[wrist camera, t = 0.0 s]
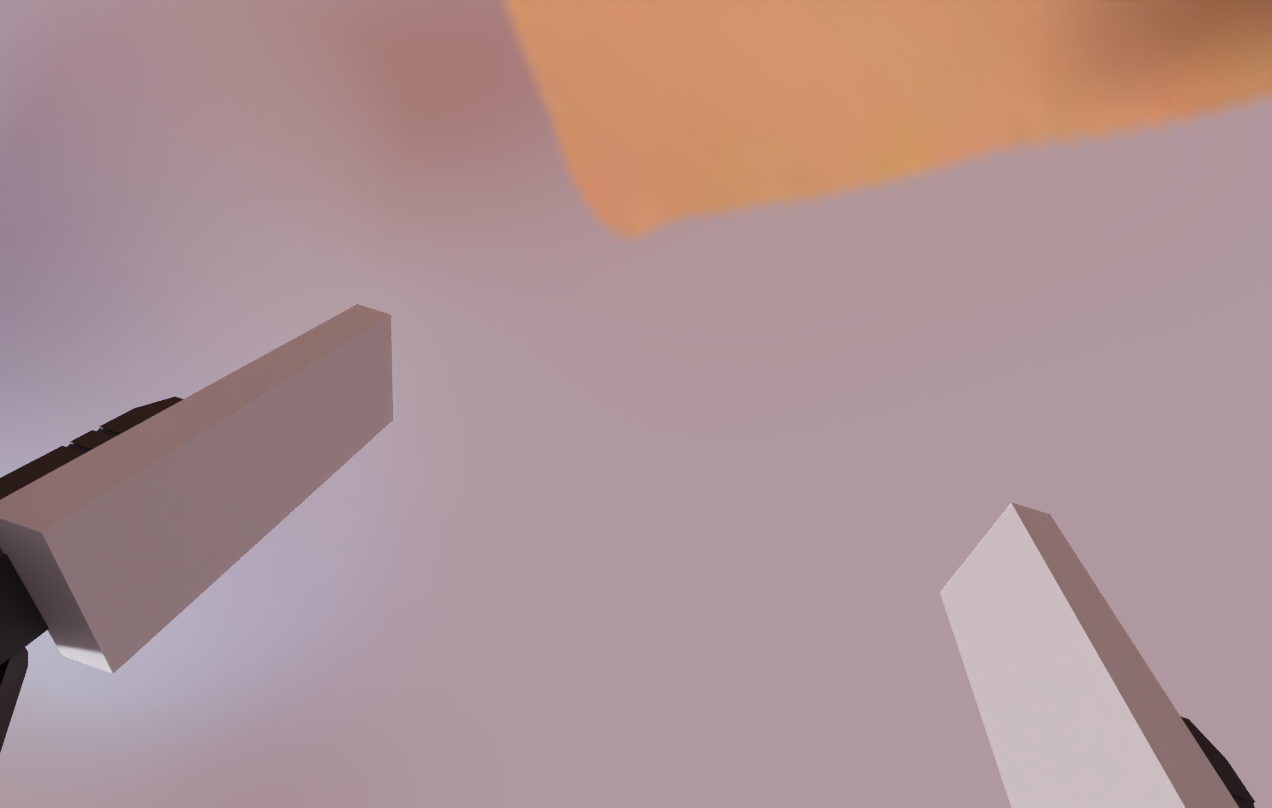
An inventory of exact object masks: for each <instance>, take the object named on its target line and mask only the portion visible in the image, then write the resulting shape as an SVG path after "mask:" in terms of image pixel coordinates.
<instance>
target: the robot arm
mask: <svg viewBox="0 0 1272 808" xmlns="http://www.w3.org/2000/svg"><path fill="white" fill-rule="evenodd" d="M391 352H392V351H391V315H390V314H387V313H384V312H381V311H377V310H374V309H371V308H367V307H364V306H361V305H355V306H353V307H351V308H350V309H348V310H346V311H344V312H343V313H341V314H339V315H337V316H335V317H333V318H331V319H330V320H328V321H326V322H324V323H322V324H320V325H319V326H317V327H315V328H313V329H311V330H309V331H308V332H306V333H304V334H302V335H300V336H299V337H297V338H295V339H293V340H291V341H289V342H288V343H286V344H284V345H282V346H280V347H278V348H277V349H275V350H273V351H271V352H270V353H267V354H266V355H264V356H262V357H260V358H258V359H257V360H255V361H253V362H251V363H249V364H247V365H246V366H244V367H242V368H240V369H238V370H237V371H235V372H233V373H231V374H229V375H227V376H225V377H224V378H222V379H220V380H218V381H216V382H215V383H213V384H211V385H209V386H207V387H205V388H204V389H202V390H200V391H198V392H196V393H194V394H193V395H191V396H189V397H187V398H185V399H181V398H177V397H172V398H169V399H165V400H162V401H158V402H155V403H152V404H148V405H145V406H141V407H138V408H134V409H132V410H130V411H128V412H127V413H125V414H123V415H121V416H119V417H117V418H115V419H113V420H111V421H109V422H107V423H105V424H103V425H102V426H100V427H99V430H98V431H93V430H92V431H90V432H88V433H86V434H84V435H82V436H80V437H78V438H76V439H75V440H73V441H71V442H70V444H69V446H67V447H64V446H61V447H59V448H57V449H55V450H53V451H51V452H49V453H48V454H46V455H44V456H42V457H40V458H38V459H36V460H34V461H32V462H30V463H28V464H26V465H24V466H23V467H21V468H19V469H17V470H15V471H13V472H11V473H9V474H7V475H5V476H3V477H1V478H0V752H1V749H2V745H3V742H4V739H5V736H6V733H7V729H8V726H9V724H10V720H11V717H12V714H13V711H14V708H15V705H16V702H17V698H18V696H19V692H20V689H21V686H22V683H23V680H24V677H25V674H26V670H27V667H28V651H27V650H26V648H25V646H27V645H28V644H29V643H31V642H32V641H33V640H34V639H36V638H37V637H39V636H40V635H41V634H42V633H44V632H45V631H46V630H48V631H49V633H50V635H51V636H52V638H53V640H54V642H55V643H56V645H57V647H58V649H59V650H60V652H61V654H62V656H64V657H67V658H70V659H73V660H76V661H79V662H81V663H84V664H87V665H90V666H93V667H95V668H98V669H101V670H104V671H107V672H110V673H112V674H113V673H114V672H115V671H117V670H118V669H119V668H120V667H121V666H122V665H123V664H124V663H125V662H126V661H128V660H129V659H130V658H131V657H132V656H133V655H134V654H135V653H136V652H138V650H140V649H141V648H142V647H143V646H144V645H145V644H146V643H147V642H149V641H150V640H151V639H152V638H153V637H154V636H155V635H156V634H157V633H158V632H160V631H161V630H162V629H163V628H164V627H165V626H166V625H167V624H168V623H169V622H171V621H172V620H173V619H174V618H175V617H176V616H177V615H178V614H179V613H180V612H182V611H183V610H184V609H185V608H186V607H187V606H188V605H189V604H190V603H192V602H193V601H194V600H195V599H196V598H197V597H198V596H199V595H200V594H201V593H203V592H204V591H205V590H206V589H207V588H208V587H209V586H210V585H211V584H212V583H213V582H215V581H216V580H217V579H218V578H219V577H220V576H221V575H222V574H224V572H226V571H227V570H228V569H229V568H230V567H231V566H232V565H233V564H235V563H236V562H237V561H238V560H239V559H240V558H241V557H242V556H243V555H244V554H245V553H247V552H248V551H249V550H250V549H251V548H252V547H253V546H254V545H255V544H257V542H259V541H260V540H261V539H262V538H263V537H264V536H265V535H267V534H268V533H269V532H270V531H271V530H272V529H273V528H274V527H275V526H276V525H278V524H279V523H280V522H281V521H282V520H283V519H284V518H285V517H286V516H287V515H289V514H290V512H292V511H293V510H294V509H295V508H296V507H297V506H298V505H299V504H301V503H302V502H303V501H304V500H305V499H306V498H307V497H308V496H310V495H311V494H312V493H313V492H314V491H315V490H316V489H317V488H318V487H319V486H320V485H322V484H323V483H324V482H325V481H326V480H327V479H328V478H329V477H330V476H332V474H333V473H335V472H336V471H337V470H338V469H339V468H340V467H341V466H343V465H344V464H345V463H346V462H347V461H348V460H349V459H350V458H351V457H352V456H353V455H355V454H356V453H357V452H358V451H359V450H360V449H361V448H362V447H364V446H365V445H366V444H367V443H368V442H369V441H370V440H371V439H372V438H373V437H375V436H376V434H378V433H379V432H380V431H381V430H382V429H383V428H385V427H386V426H387V425H388V424H389V423H390V422H391V421H392V420H393V401H392V353H391ZM940 594H941V597H942V600H943V603H944V606H945V609H946V612H947V615H948V618H949V621H950V624H951V627H952V630H953V633H954V636H955V639H956V642H957V645H958V648H959V651H960V654H961V657H962V660H963V663H964V666H965V669H966V672H967V675H968V678H969V681H970V684H971V687H972V690H973V693H974V696H975V699H976V702H977V705H978V708H979V711H980V714H981V717H982V720H983V723H984V726H985V729H986V732H987V735H988V738H989V741H990V744H991V747H992V750H993V753H994V756H995V759H996V762H997V765H998V768H999V771H1000V774H1001V777H1002V780H1003V783H1004V786H1005V789H1006V792H1007V795H1008V798H1009V801H1010V804H1011V807H1012V808H1255V807H1254V802H1255V801H1254V800H1253V798H1252V797H1251V795H1250V794H1249V792H1248V791H1247V790H1246V788H1245V786H1244V785H1243V783H1242V782H1241V780H1240V779H1239V777H1238V776H1237V774H1236V773H1235V771H1234V770H1233V768H1232V767H1231V765H1230V764H1229V763H1228V761H1227V760H1226V758H1225V757H1224V756H1223V755H1222V754H1221V753H1220V752H1219V751H1218V750H1217V749H1216V748H1215V747H1214V746H1213V745H1212V744H1211V742H1210V741H1209V740H1208V739H1207V738H1206V737H1205V736H1204V735H1203V734H1202V733H1201V732H1200V731H1199V730H1198V729H1197V728H1196V727H1195V726H1194V725H1193V723H1192V722H1191V721H1190V720H1189V719H1186V718H1183V717H1180V715H1179V714H1178V712H1177V710H1176V709H1175V708H1174V706H1173V704H1172V703H1171V701H1170V700H1169V698H1168V697H1167V695H1166V694H1165V692H1164V690H1163V689H1162V687H1161V686H1160V684H1159V683H1158V681H1157V680H1156V678H1155V676H1154V675H1153V673H1152V672H1151V670H1150V669H1149V667H1148V666H1147V664H1146V663H1145V661H1144V659H1143V658H1142V656H1141V655H1140V653H1139V652H1138V650H1137V649H1136V647H1135V645H1134V644H1133V642H1132V641H1131V639H1130V638H1129V636H1128V635H1127V633H1126V631H1125V630H1124V628H1123V627H1122V625H1121V624H1120V622H1119V621H1118V619H1117V618H1116V616H1115V614H1114V613H1113V611H1112V610H1111V608H1110V607H1109V605H1108V604H1107V602H1106V600H1105V599H1104V597H1103V596H1102V594H1101V593H1100V591H1099V590H1098V588H1097V586H1096V585H1095V583H1094V582H1093V580H1092V579H1091V577H1090V576H1089V574H1088V573H1087V571H1086V569H1085V568H1084V567H1083V565H1082V563H1081V562H1080V560H1079V559H1078V557H1077V555H1076V554H1075V552H1074V551H1073V549H1072V548H1071V546H1070V545H1069V543H1068V542H1067V540H1066V539H1065V537H1064V535H1063V534H1062V532H1061V531H1060V529H1059V528H1058V526H1057V524H1056V523H1055V521H1054V520H1053V518H1052V517H1051V515H1050V514H1047V513H1044V512H1040V511H1037V510H1034V509H1030V508H1027V507H1024V506H1020V505H1017V504H1014V503H1010V505H1009V506H1008V507H1007V509H1006V510H1005V511H1004V512H1003V514H1002V515H1001V516H1000V517H999V519H998V520H997V521H996V522H995V524H994V525H993V526H992V527H991V529H990V530H989V531H988V532H987V534H986V535H985V536H984V537H983V539H982V540H981V541H980V542H979V544H978V545H977V546H976V548H975V549H974V550H973V551H972V553H971V554H970V555H969V556H968V558H967V559H966V560H965V561H964V563H963V564H962V565H961V567H960V568H959V569H958V570H957V571H956V573H955V574H954V575H953V576H952V578H951V579H950V580H949V582H948V583H947V584H946V585H945V587H944V588H943V589H942V590H941V592H940Z"/></svg>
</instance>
